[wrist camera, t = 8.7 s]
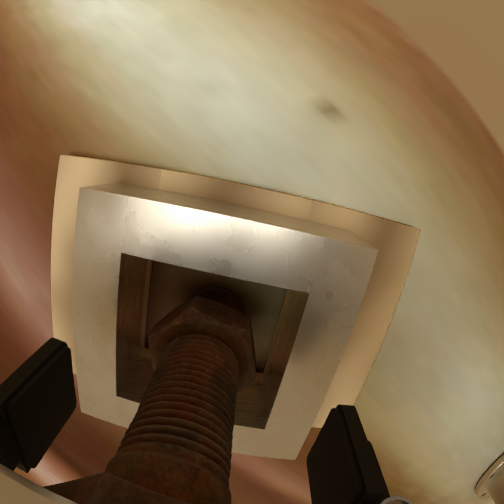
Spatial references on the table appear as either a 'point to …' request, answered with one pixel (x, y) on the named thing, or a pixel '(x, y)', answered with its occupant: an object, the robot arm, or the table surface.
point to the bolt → (181, 411)
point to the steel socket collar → (222, 263)
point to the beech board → (363, 225)
